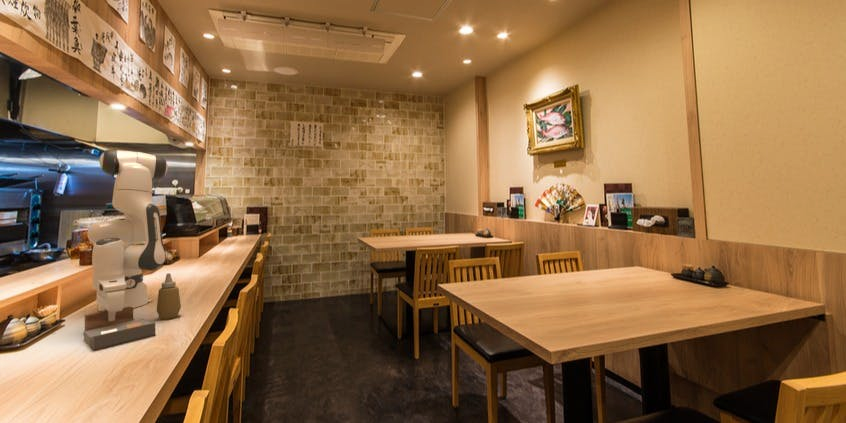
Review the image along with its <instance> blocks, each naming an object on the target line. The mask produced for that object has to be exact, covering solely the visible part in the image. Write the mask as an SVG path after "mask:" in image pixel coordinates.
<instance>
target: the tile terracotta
mask: <svg viewBox="0 0 846 423" xmlns="http://www.w3.org/2000/svg"><path fill="white" fill-rule="evenodd" d="M136 326H141V322H139V323H134V324H129V325H126V327H125V329H128V328H132V327H136Z"/></svg>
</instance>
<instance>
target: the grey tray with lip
mask: <svg viewBox="0 0 846 423" xmlns="http://www.w3.org/2000/svg"><path fill="white" fill-rule="evenodd" d="M139 322H141V326H136V327H132V328H128V329H125V327H126V325H129V324H134V323H139ZM113 329H117V331H114V332H110V333H105V334H101V332H104V331H108V330H113ZM100 334H101V335H100ZM155 336H156V322H148V321H146V320H145V319H143V318H139V319H136V320H135V319H133V321H130V322H125V323H120V324H116V325H111V326H106V327H102V328H97V329H92V330H88V331H85V330H84V331H83V340H84V342H85V343H86V344H87V345H88V346H89V347H90V348H91V350H92V351H94V352H96V351H100V350H103V349H108V348H113V347H115V346H120V345H124V344H127V343H131V342H135V341H139V340H144V339H148V338H151V337H155Z"/></svg>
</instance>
